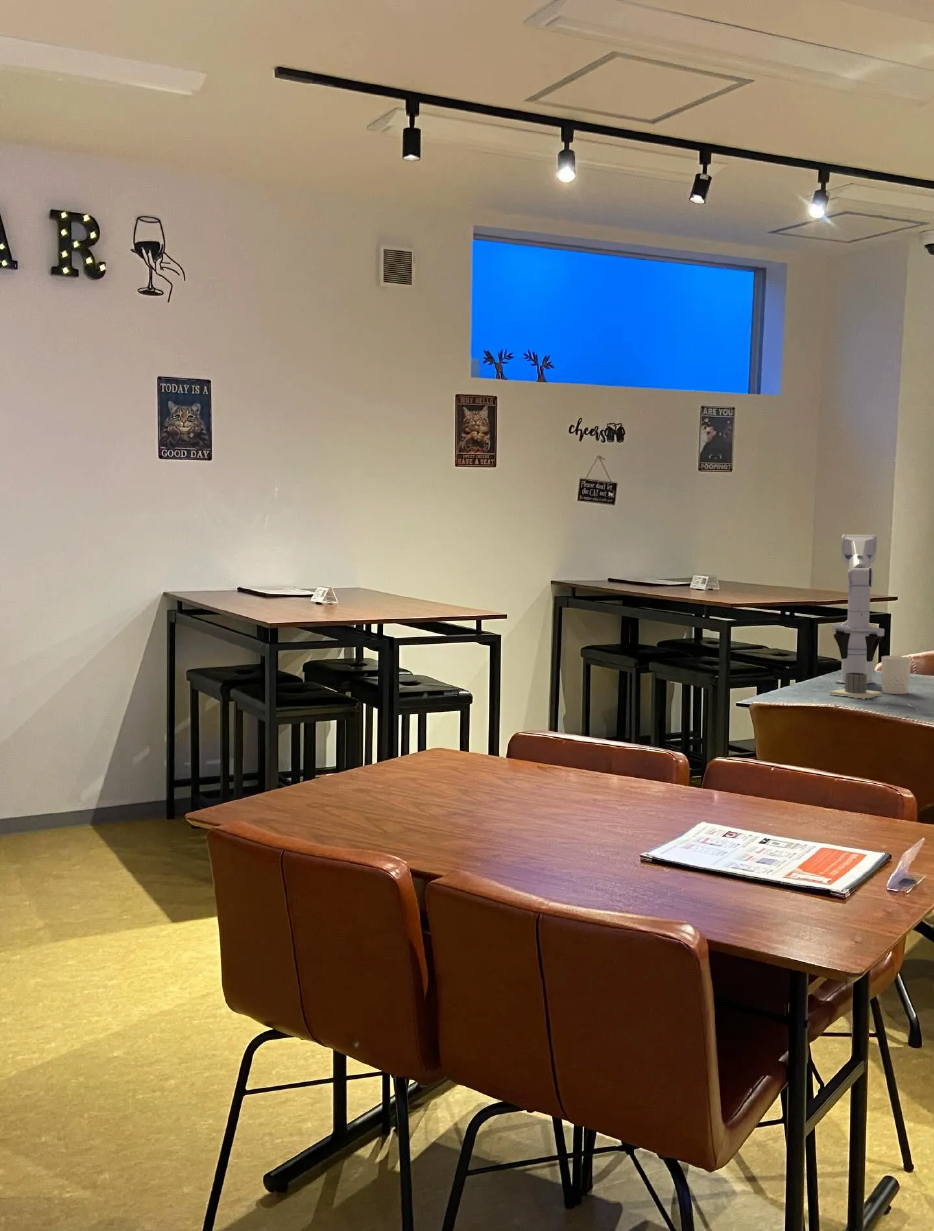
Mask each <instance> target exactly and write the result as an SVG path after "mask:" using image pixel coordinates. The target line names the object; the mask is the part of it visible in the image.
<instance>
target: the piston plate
mask: <svg viewBox="0 0 934 1231" xmlns="http://www.w3.org/2000/svg"><path fill="white" fill-rule="evenodd" d="M830 694H838V695H844V696H851V697H854V698H853V699H857V698H862V699H861V700H866V699H865V698H867V699H871V698H875V696H877V697H881V696H882V691H876V690H868V689H866V693H848V692H845V688H840V689H836V690H832V691H831V690H830V691H829V695H830Z"/></svg>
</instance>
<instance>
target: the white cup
mask: <svg viewBox="0 0 934 1231" xmlns="http://www.w3.org/2000/svg"><path fill="white" fill-rule="evenodd" d="M911 664H912V657H910V656H909V657H908V656H902V655H883V656H881V683H882V684H881V685H882V687H881V688H882V691H881V693H884V694H888V695H889V694H890V695H906V694H908V693H909V684H910V675H911V666H912V665H911Z"/></svg>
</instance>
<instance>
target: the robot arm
mask: <svg viewBox="0 0 934 1231" xmlns="http://www.w3.org/2000/svg"><path fill="white" fill-rule="evenodd" d="M877 538H878V537H877V535H876V534H845V533H843V534H842V535H841V547H840V548H841V550H840V551H841V562H842V563H844V564H845V565H847V566H848V569H847V579H846V580H847V581H846V586H847V594H848V597H847V619H846V620H845V621H844V622H842V623H841V624H832V625H831V626H832V630H831V631H832V633H834V634H833V638H834V640H835V642H836V643H837V650H838V651H839V654H840V658H841V671H840V672H841V673H840V674H841V678H840V679H838V680H835V682H834V683H838V684H845V677H846V673H852V672H854V673H865V674H867V685H868V684H874V683H876V681H875V680H873V668H874V667H873V666H874V664H873V663H874V661H873V660H874V657H875V653H876V651H877V649H878V647H879V644H880V643H881V641H882V640H883V637H884V636H885V628H880V627H873V626H872V625H871V624H870V611H871V610H870V609H871V608H870V606H871V604H870V603H871V588H872V586H873V580H874V578H873V577H874V576H873V574H874V573H873V569H872V568H873V567H871V564H874V563H875V560H876V554H877V545H878V544H877V542H878V541H877Z"/></svg>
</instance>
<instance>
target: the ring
mask: <svg viewBox="0 0 934 1231" xmlns="http://www.w3.org/2000/svg"><path fill="white" fill-rule="evenodd" d="M844 684H845V685H844V689H845V692H848V693H866V690H867V685H868V684H867V674H865V673H854V672H852V673H846V677H845V683H844Z"/></svg>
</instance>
